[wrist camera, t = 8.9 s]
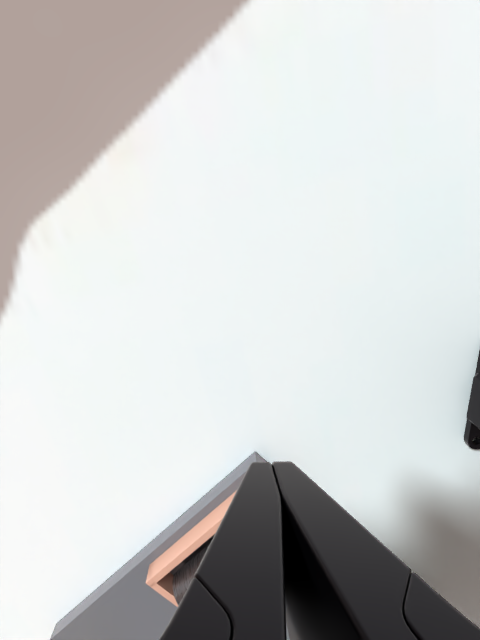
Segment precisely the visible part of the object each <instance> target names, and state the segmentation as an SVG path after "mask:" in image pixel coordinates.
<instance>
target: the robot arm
mask: <svg viewBox="0 0 480 640" xmlns="http://www.w3.org/2000/svg"><path fill="white" fill-rule="evenodd" d="M475 437H477V438H476V439H475V440H474V441H472V440H473V439H474V438H475ZM464 441H465V443H466V444H467V445H468V446H469V447H471V448H473V449H480V351H479V357H478V362H477V368H476V373H475V376H474V378H473V384H472V389H471V395H470V400H469V406H468V411H467V423H466V428H465V434H464ZM286 625H287V629H288V634H289V638H290V640H480V628H478V627H477V626H476V625H475V624H473V623H472V622H471V621H470V620H468V619H467V618H466V617H465V616H463V615H462V614H461V613H460V612H459V611H458V610H456V609H455V608H454V607H453V606H452V605H451V604H449V603H448V602H447V601H446V600H445V599H444V598H443V597H441V596H440V595H439V594H438V593H437V592H436V591H434V590H433V589H432V588H431V587H430V586H429V585H428V584H427V583H426V582H424V581H423V580H422V579H421V578H420V577H419V576H418V575H417V574H416V573H411V569H410V568H409V567H408V566H406V565H405V564H404V563H403V562H402V561H401V560H400V559H399V558H398V557H397V556H395V555H394V554H393V553H392V552H391V551H390V550H389V549H388V548H387V547H385V546H384V545H383V544H382V543H381V542H380V541H379V540H378V539H377V538H376V537H374V536H373V535H372V534H371V533H370V532H369V531H368V530H367V529H366V528H364V527H363V526H362V525H361V524H360V523H359V522H358V521H357V520H356V519H354V518H353V517H352V516H351V515H350V514H349V513H348V512H347V511H346V510H345V509H343V508H342V507H341V506H340V505H339V504H338V503H337V502H336V501H335V500H333V499H332V498H331V497H330V496H329V495H328V494H327V493H326V492H325V491H324V490H322V489H321V488H320V487H319V486H318V485H317V484H316V483H315V482H314V481H312V480H311V479H310V478H309V477H308V476H307V475H306V474H305V473H304V472H303V471H301V470H300V469H299V468H298V467H297V466H296V465H295V464H294V463H292V462H273V463H272V465H271V463H270V462H252V463H251V464H250V465H249V467H248V469H247V471H246V473H245V475H244V477H243V479H242V481H241V483H240V485H239V487H238V489H237V491H236V493H235V495H234V497H233V499H232V501H231V503H230V505H229V507H228V509H227V511H226V513H225V515H224V517H223V519H222V521H221V523H220V525H219V527H218V529H217V531H216V533H215V535H214V537H213V539H212V541H211V543H210V545H209V547H208V549H207V551H206V553H205V555H204V557H203V559H202V561H201V563H200V565H199V567H198V569H197V571H196V573H195V575H194V578H193V579H192V580H191V582H190V584H189V586H188V588H187V590H186V592H185V594H184V596H183V598H182V600H181V602H180V604H179V606H178V607H177V609H176V611H175V613H174V615H173V617H172V618H171V620H170V622H169V624H168V626H167V627H166V629H165V630H164V632H163V634H162V635H161V637H160V638H159V640H287V636H286Z"/></svg>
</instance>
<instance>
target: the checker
mask: <svg viewBox="0 0 480 640" xmlns="http://www.w3.org/2000/svg"><path fill="white" fill-rule="evenodd" d="M252 462H266V461H265V460H264V459H263V458H262V457H261V456H260V455H258V454H257V453H256V452H254V453H253V454H252V455H251V456H249V457H248V458H247V459H246V460H245V461H244V462H242V463H241V464H240V465H239V466H238V467H237V468H236V469H234V470H233V471H232V472H231V473H230V474H229V475H227V476H226V477H225V478H224V479H223V480H222V481H221V482H219V483H218V484H217V485H216V486H215V487H214V488H212V489H211V490H210V491H209V492H208V493H207V494H206V495H204V496H203V497H202V498H201V499H200V500H199V501H197V502H196V503H195V504H194V505H193V506H192V507H191V508H189V509H188V510H187V511H186V512H185V513H184V514H182V515H181V516H180V517H179V518H178V519H177V520H176V521H174V522H173V523H172V524H171V525H170V526H169V527H167V528H166V529H165V530H164V531H163V532H162V533H160V534H159V535H158V536H157V537H156V538H155V539H154V540H152V541H151V542H150V543H149V544H148V545H147V546H145V547H144V548H143V549H142V550H141V551H140V552H139V553H137V554H136V555H135V556H134V557H133V558H132V559H130V560H129V561H128V562H127V563H126V564H125V565H124V566H122V567H121V568H120V569H119V570H118V571H117V572H115V573H114V574H113V575H112V576H111V577H110V578H109V579H107V580H106V581H105V582H104V583H103V584H102V585H100V586H99V587H98V588H97V589H96V590H95V591H94V592H92V593H91V594H90V595H89V596H88V597H87V598H85V599H84V600H83V601H82V602H81V603H80V604H79V605H77V606H76V607H75V608H74V609H73V610H72V611H70V612H69V613H68V614H67V615H66V616H65V617H64V618H62V619H61V620H60V621H59V622H58V623H57V624H56V626H55V628H54V631H53V633H52V636H51V638H50V640H159V638H160V637H161V635H162V634H163V632H164V630H165V629H166V627H167V626H168V624H169V622H170V620H171V618H172V617H173V615H174V613H175V611H176V609H177V607H178V604H177V602H176V600H175V597H174V593H173V586H172V583H173V577H174V574H175V573H176V571H178V570H179V569H180V568H181V567H182V566H184V565H185V564H186V563H187V562H188V561H190V560H191V559H192V558H193V557H194V556H196V555H197V554H198V553H199V552H200V551H201V550H203V549H204V548H205V547H206V546H207V545H209V544H210V543H211V541H212V539H213V537H214V535H215V533H216V531H217V529H218V527H219V525H220V523H221V521H222V519H223V517H224V515H225V513H226V511H227V509H228V507H229V505H230V503H231V501H232V499H233V497H234V495H235V493H236V491H237V489H238V487H239V485H240V483H241V481H242V479H243V477H244V475H245V473H246V471H247V469H248V467H249V465H250V464H251V463H252ZM286 636H287V640H290V638H289V634H288V629H287V625H286Z"/></svg>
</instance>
